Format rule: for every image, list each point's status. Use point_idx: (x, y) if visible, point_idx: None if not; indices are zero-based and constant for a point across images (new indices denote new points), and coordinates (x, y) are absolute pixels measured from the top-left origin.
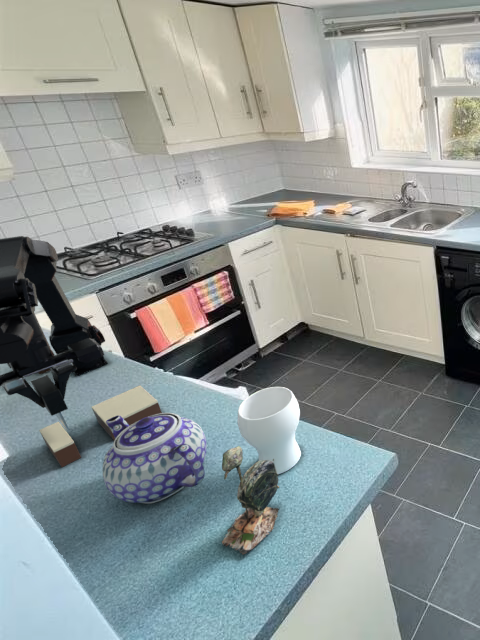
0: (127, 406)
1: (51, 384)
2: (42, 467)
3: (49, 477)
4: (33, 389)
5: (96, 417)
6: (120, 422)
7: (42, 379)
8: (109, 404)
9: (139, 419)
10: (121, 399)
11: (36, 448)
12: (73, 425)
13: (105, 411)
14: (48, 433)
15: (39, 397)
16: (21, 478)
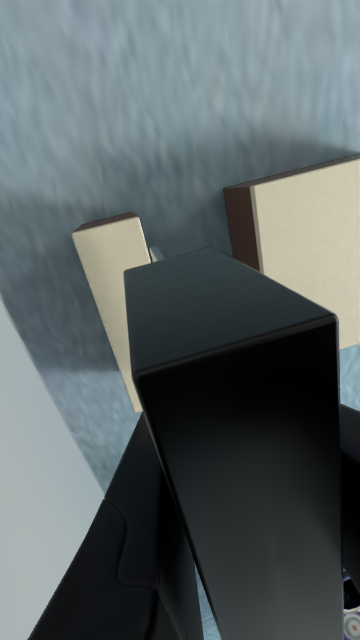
0: (346, 296)
1: (324, 574)
2: (84, 337)
3: (107, 392)
4: (180, 592)
5: (235, 202)
6: (356, 601)
7: (274, 422)
8: (307, 226)
9: None
10: (347, 220)
11: (48, 209)
12: (151, 134)
13: (287, 274)
14: (110, 292)
15: (193, 566)
16: (39, 353)
